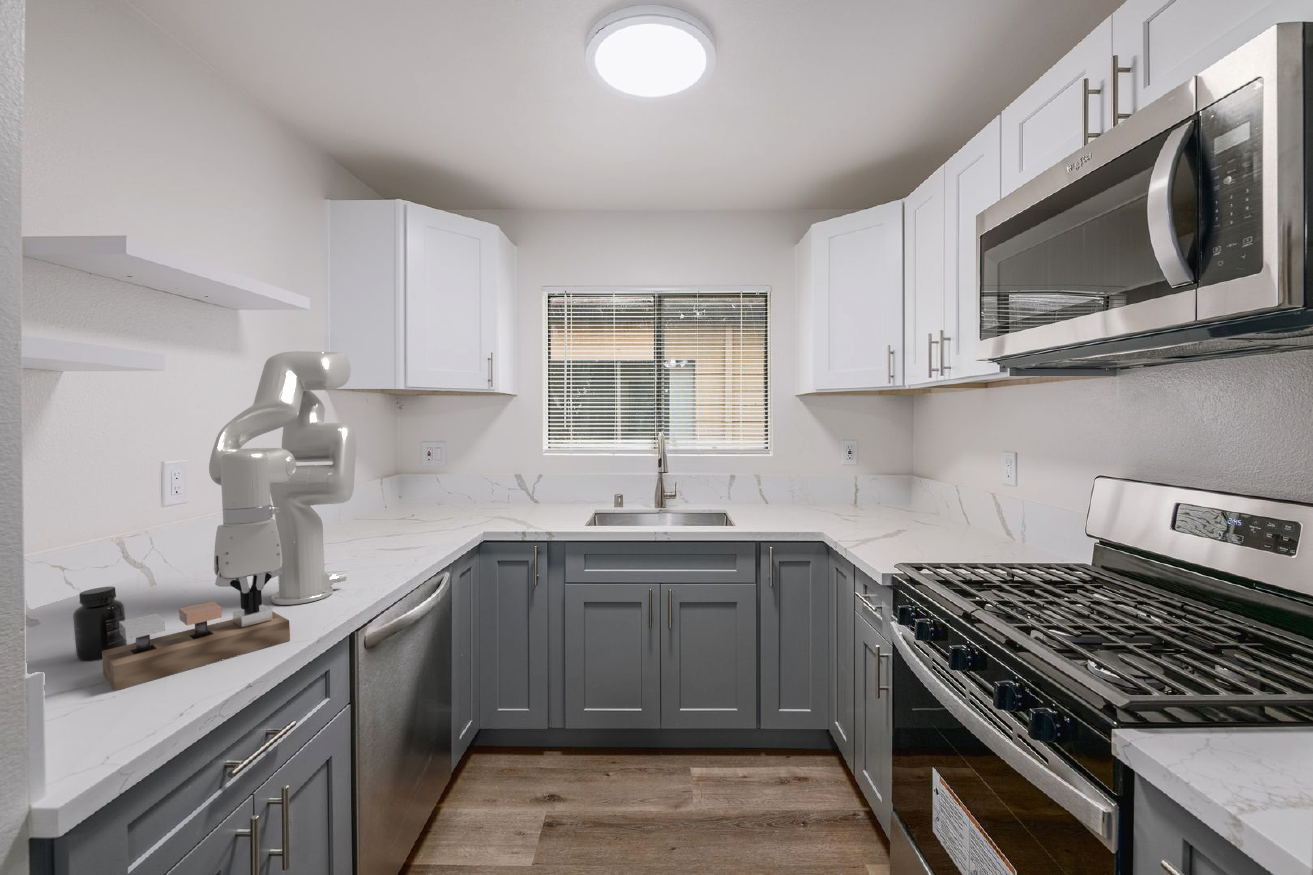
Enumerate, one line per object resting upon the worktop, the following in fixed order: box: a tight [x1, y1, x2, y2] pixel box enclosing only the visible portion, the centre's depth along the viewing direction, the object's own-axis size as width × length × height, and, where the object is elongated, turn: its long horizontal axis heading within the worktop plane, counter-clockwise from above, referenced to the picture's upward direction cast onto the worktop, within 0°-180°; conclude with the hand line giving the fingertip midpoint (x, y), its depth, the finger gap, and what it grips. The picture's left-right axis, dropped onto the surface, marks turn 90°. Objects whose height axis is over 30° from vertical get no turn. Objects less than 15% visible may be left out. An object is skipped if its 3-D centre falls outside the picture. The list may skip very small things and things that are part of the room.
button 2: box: [232, 603, 273, 627], centre depth 111 cm, size 5×5×6 cm
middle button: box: [178, 601, 223, 639], centre depth 105 cm, size 5×5×6 cm
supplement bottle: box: [72, 586, 128, 662], centre depth 107 cm, size 7×7×12 cm
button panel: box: [102, 610, 291, 692], centre depth 105 cm, size 25×10×4 cm, turn 142°
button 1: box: [119, 613, 166, 654], centre depth 99 cm, size 5×5×6 cm
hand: (251, 610), depth 111 cm, fingers closed
